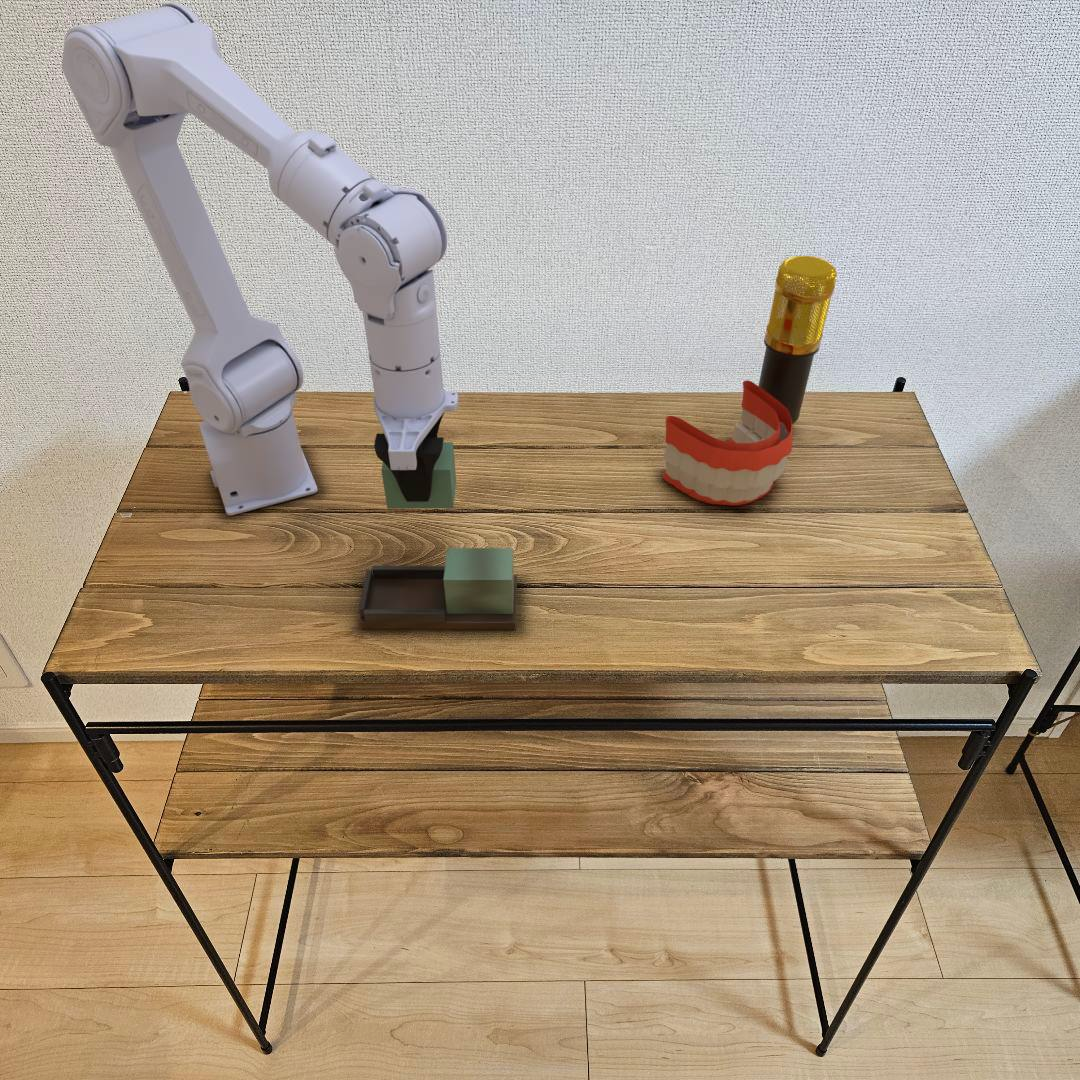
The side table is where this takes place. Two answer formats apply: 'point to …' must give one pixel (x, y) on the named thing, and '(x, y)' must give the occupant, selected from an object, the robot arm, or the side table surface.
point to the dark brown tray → (444, 593)
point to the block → (440, 488)
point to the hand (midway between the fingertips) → (419, 483)
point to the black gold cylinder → (796, 328)
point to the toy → (731, 453)
